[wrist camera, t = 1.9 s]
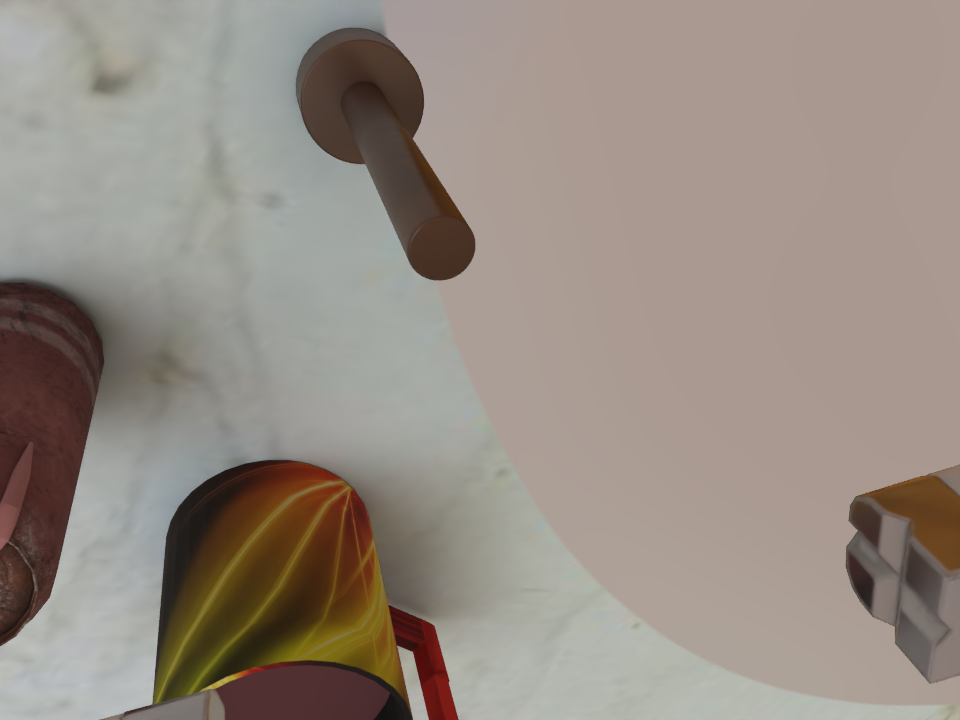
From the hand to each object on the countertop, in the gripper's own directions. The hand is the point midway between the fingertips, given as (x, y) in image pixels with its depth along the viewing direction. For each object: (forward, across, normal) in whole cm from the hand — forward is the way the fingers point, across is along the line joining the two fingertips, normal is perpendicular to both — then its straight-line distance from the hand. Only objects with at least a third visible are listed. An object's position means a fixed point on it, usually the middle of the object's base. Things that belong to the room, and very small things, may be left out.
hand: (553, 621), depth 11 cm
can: (+27, +14, +7) cm, 31 cm away
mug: (+28, +6, +21) cm, 35 cm away
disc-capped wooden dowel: (+27, -1, 0) cm, 27 cm away
